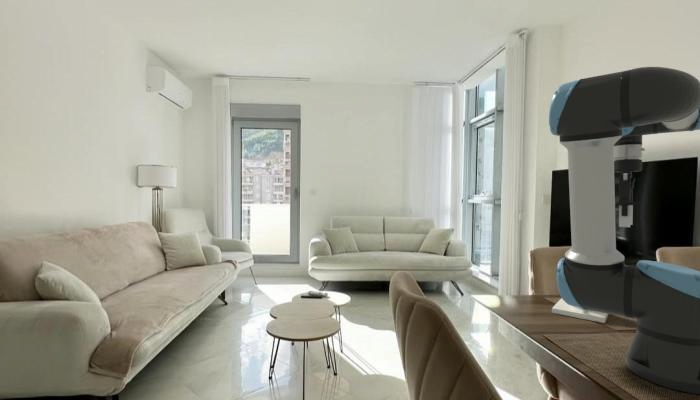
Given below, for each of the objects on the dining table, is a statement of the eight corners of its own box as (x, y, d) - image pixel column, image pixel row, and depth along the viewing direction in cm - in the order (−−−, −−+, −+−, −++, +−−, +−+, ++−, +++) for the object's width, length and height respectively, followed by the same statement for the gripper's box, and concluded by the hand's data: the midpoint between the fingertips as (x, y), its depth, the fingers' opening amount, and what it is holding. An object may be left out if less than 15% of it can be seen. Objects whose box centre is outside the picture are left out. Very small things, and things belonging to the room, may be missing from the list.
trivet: (604, 323, 104) (604, 318, 104) (551, 312, 114) (551, 308, 114) (609, 311, 116) (609, 306, 116) (561, 302, 125) (561, 298, 125)
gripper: (640, 154, 100) (639, 228, 100) (643, 161, 118) (642, 224, 118) (608, 156, 104) (607, 227, 105) (615, 163, 123) (614, 223, 123)
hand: (626, 225), depth 112 cm, fingers open, 13 cm apart
